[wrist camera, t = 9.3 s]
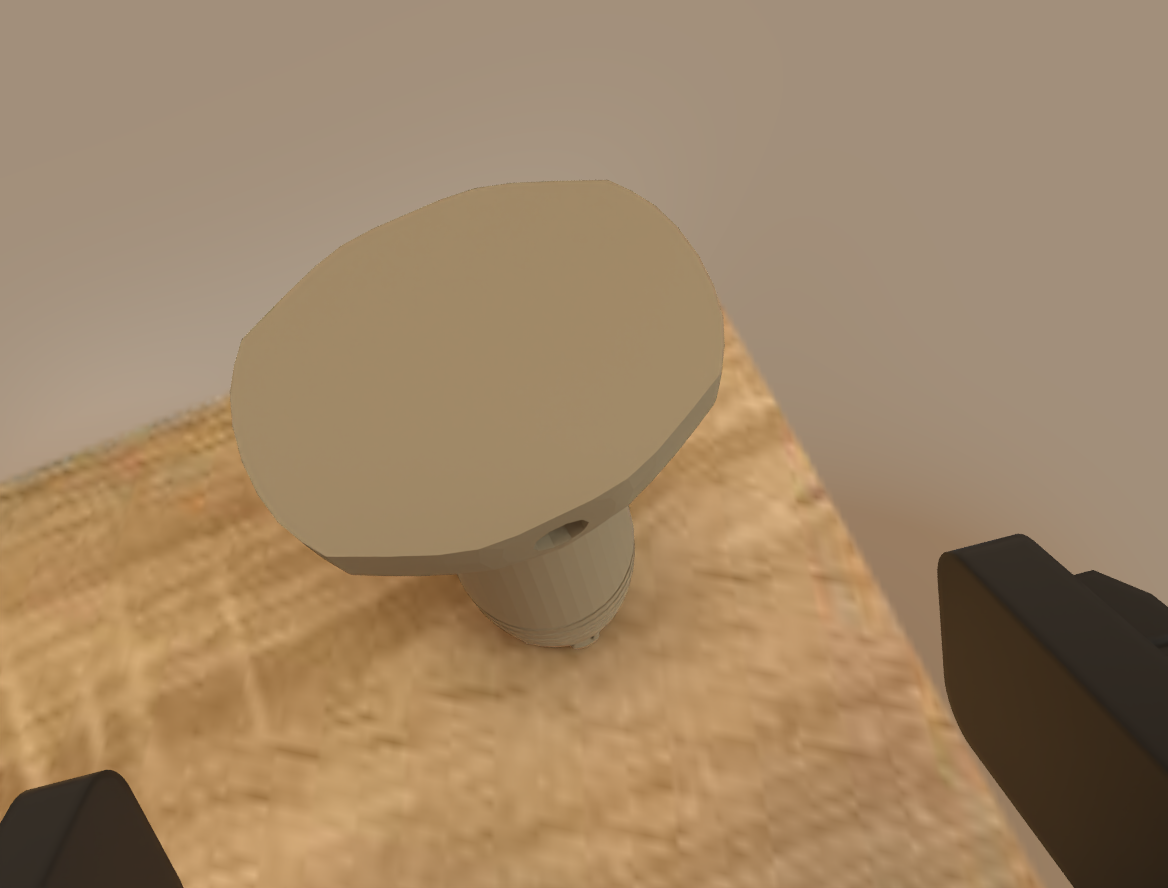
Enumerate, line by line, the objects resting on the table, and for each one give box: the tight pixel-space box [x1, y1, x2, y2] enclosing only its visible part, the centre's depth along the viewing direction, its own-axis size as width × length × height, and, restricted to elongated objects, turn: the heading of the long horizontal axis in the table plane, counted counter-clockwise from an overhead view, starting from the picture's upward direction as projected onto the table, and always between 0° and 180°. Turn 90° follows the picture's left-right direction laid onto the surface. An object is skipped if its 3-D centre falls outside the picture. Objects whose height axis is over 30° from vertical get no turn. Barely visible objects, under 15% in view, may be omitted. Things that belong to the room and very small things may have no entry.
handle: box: [230, 180, 725, 650], centre depth 19 cm, size 5×6×15 cm
